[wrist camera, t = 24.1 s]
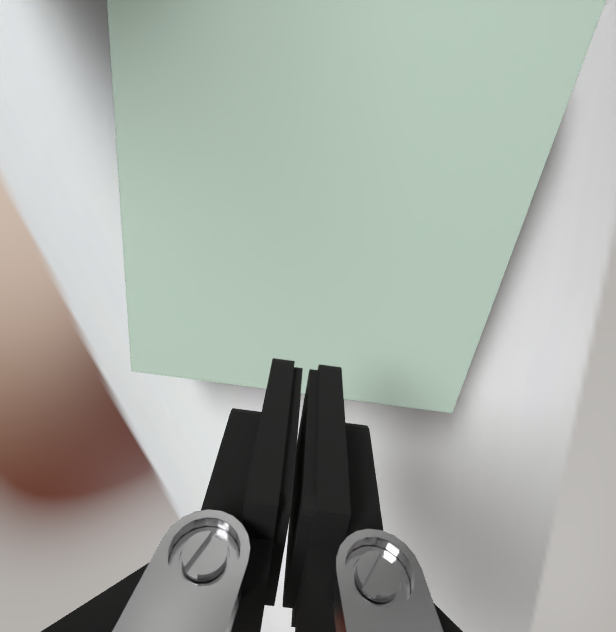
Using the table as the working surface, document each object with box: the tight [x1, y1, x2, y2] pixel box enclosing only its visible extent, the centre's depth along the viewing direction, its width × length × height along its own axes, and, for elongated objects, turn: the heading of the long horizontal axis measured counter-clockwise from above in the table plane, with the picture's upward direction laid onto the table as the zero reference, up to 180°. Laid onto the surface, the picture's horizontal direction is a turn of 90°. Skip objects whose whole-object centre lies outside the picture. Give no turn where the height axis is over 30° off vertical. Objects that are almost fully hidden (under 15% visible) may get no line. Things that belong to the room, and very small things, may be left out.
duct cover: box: [107, 0, 606, 413], centre depth 16 cm, size 16×15×1 cm
